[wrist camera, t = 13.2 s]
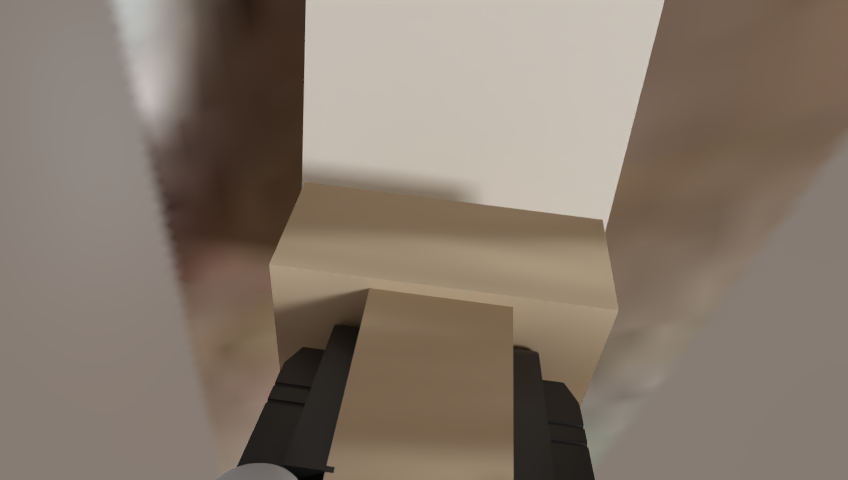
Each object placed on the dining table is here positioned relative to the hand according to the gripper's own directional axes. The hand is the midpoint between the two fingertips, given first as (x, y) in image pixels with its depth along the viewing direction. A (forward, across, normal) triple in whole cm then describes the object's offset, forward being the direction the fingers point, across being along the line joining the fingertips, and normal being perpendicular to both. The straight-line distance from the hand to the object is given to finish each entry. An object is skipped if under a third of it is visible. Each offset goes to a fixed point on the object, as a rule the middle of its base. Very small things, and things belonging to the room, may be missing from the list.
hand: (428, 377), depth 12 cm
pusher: (+2, 0, -1) cm, 3 cm away
